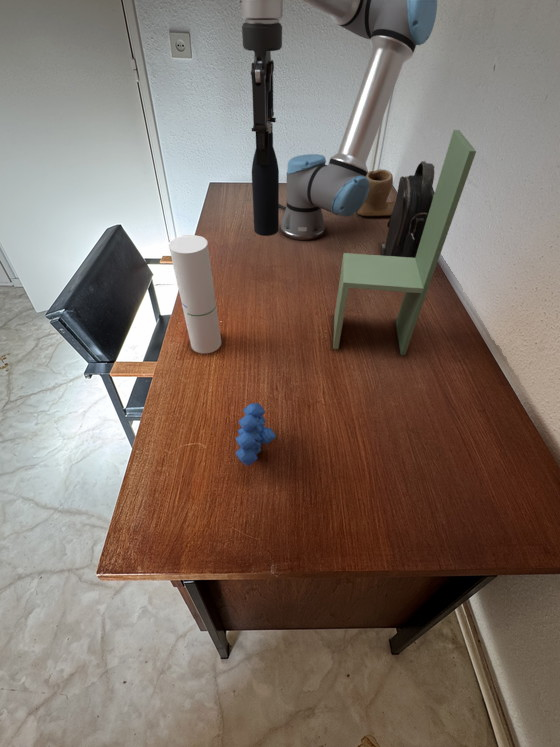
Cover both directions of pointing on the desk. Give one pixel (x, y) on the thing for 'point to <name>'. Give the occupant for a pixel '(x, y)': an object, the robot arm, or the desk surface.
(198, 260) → the cylindrical container
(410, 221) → the shoulder bag
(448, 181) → the green miniature chair
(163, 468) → the desk surface
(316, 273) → the desk surface
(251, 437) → the grapes
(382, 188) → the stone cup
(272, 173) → the wine bottle
